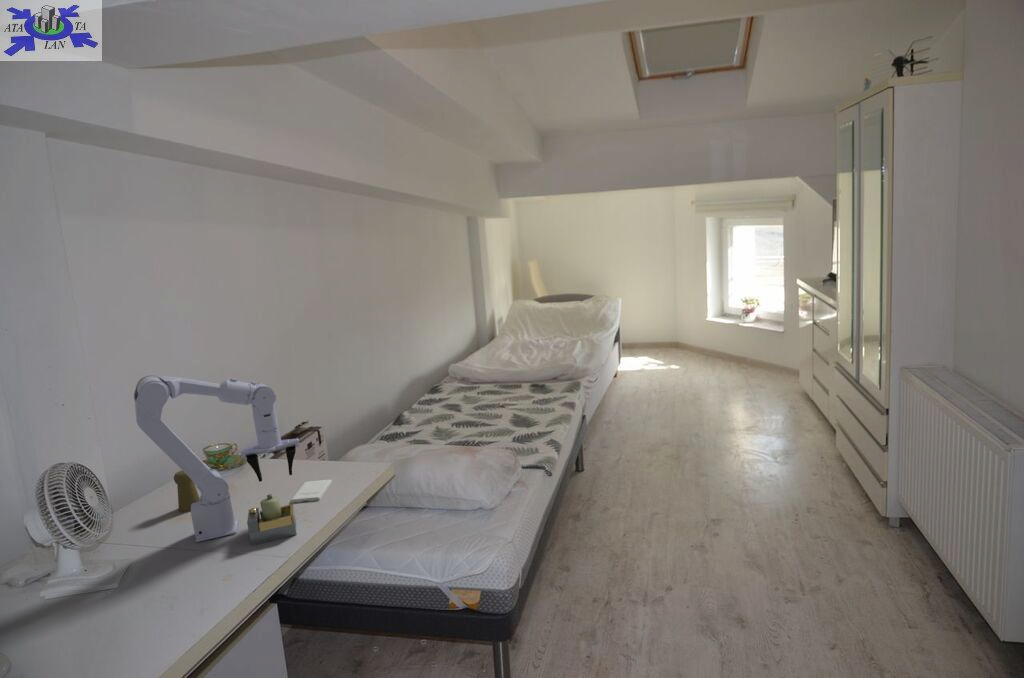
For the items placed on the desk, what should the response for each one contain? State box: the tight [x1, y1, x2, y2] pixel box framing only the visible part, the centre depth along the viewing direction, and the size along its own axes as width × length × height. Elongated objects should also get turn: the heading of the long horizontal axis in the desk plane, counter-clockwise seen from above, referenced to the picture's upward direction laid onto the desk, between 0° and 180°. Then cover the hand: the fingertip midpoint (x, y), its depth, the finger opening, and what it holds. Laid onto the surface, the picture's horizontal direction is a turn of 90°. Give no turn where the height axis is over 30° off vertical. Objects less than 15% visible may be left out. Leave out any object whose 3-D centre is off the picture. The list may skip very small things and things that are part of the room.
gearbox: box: [246, 503, 297, 546], centre depth 163 cm, size 10×8×7 cm
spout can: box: [259, 493, 282, 521], centre depth 163 cm, size 4×4×6 cm
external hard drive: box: [290, 479, 333, 504], centre depth 188 cm, size 2×8×12 cm
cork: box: [173, 469, 200, 513], centre depth 185 cm, size 6×6×11 cm
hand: (275, 477), depth 175 cm, fingers open, 7 cm apart
